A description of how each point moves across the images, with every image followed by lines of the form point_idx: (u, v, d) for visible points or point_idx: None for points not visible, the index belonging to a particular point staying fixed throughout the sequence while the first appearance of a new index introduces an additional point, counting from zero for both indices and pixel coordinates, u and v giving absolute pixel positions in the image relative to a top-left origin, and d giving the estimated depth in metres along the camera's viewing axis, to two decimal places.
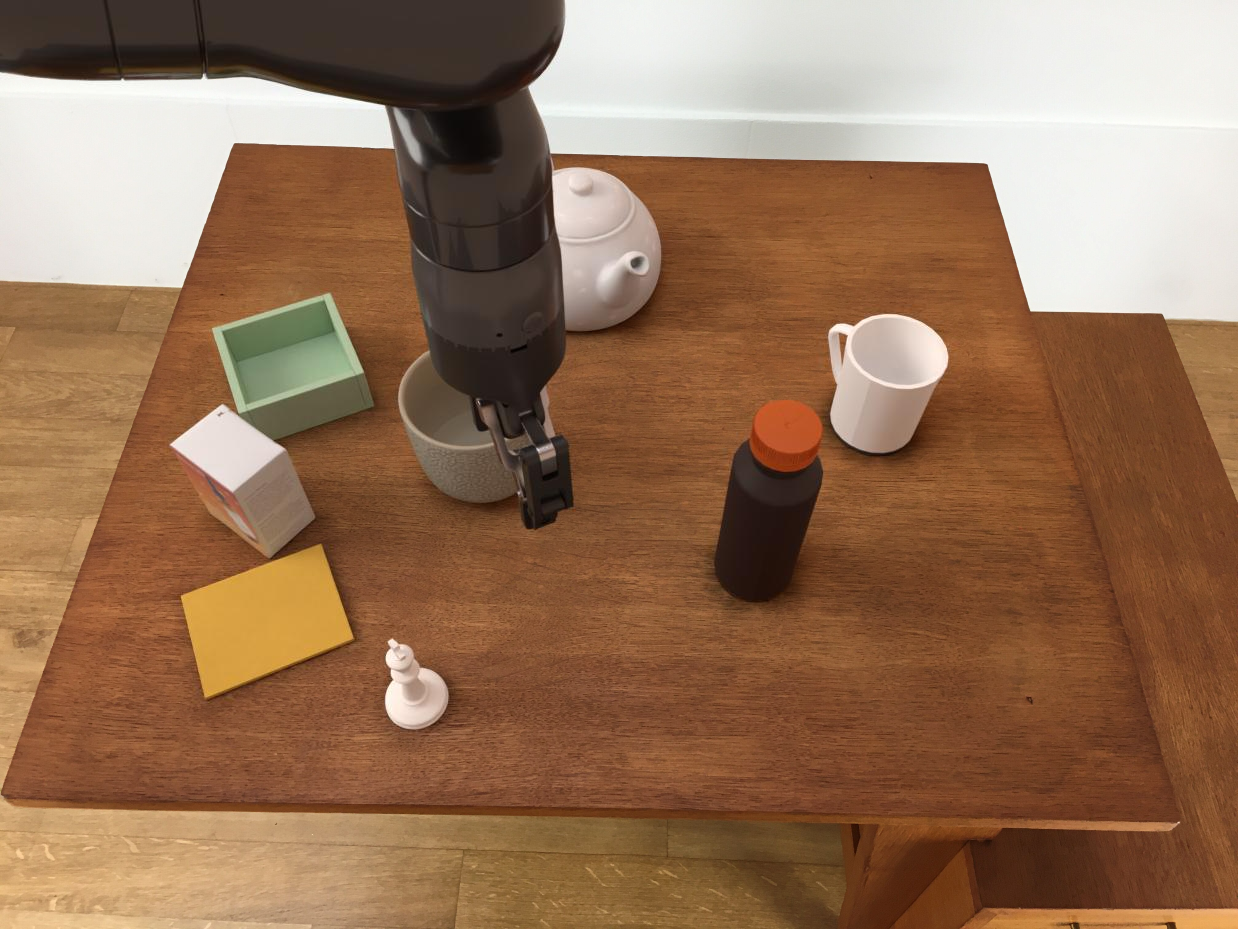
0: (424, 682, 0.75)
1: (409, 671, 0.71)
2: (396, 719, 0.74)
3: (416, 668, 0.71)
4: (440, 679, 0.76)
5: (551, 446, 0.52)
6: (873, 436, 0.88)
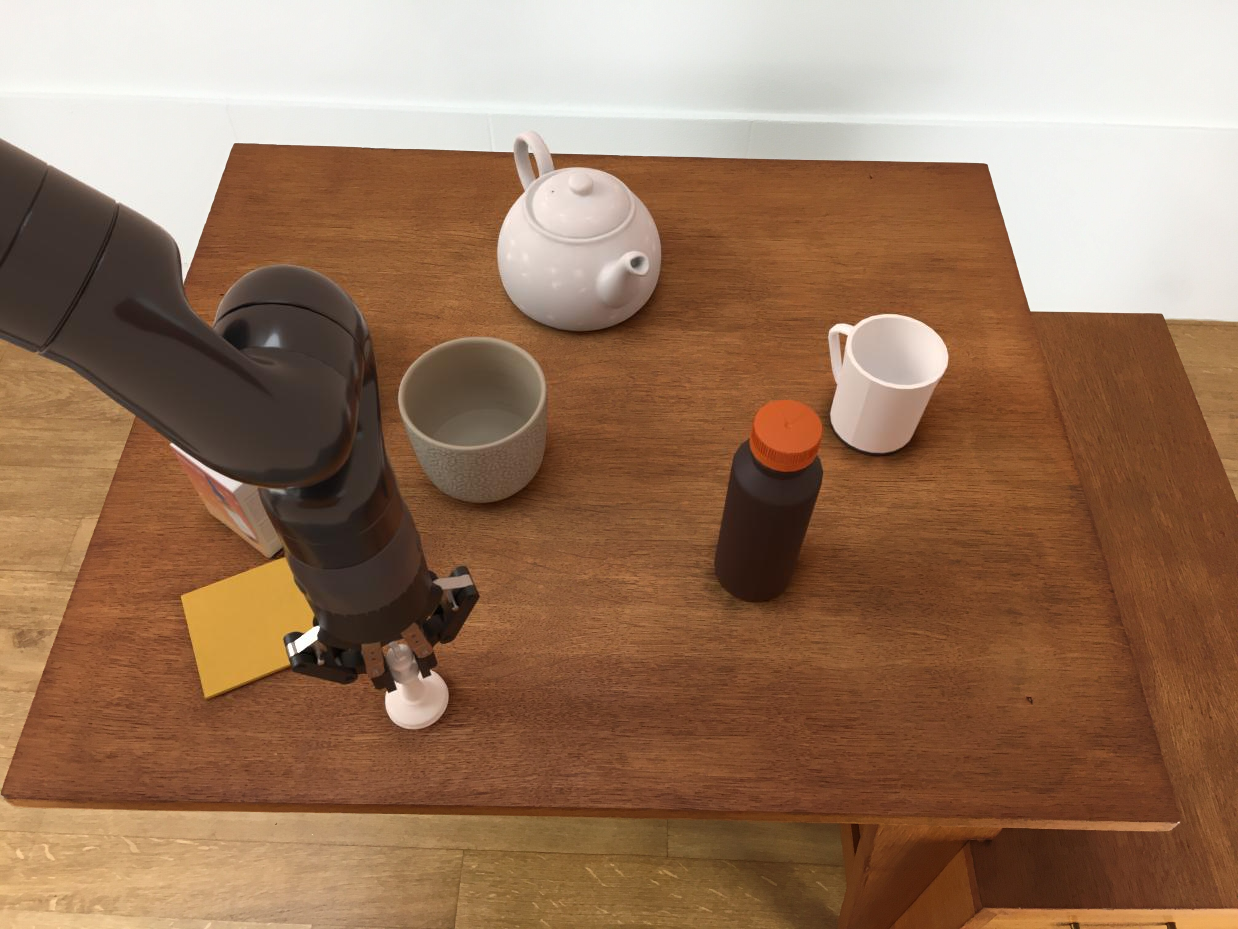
0: (424, 682, 0.75)
1: (409, 671, 0.71)
2: (396, 719, 0.74)
3: (416, 668, 0.71)
4: (440, 679, 0.76)
5: (289, 657, 0.63)
6: (873, 436, 0.88)
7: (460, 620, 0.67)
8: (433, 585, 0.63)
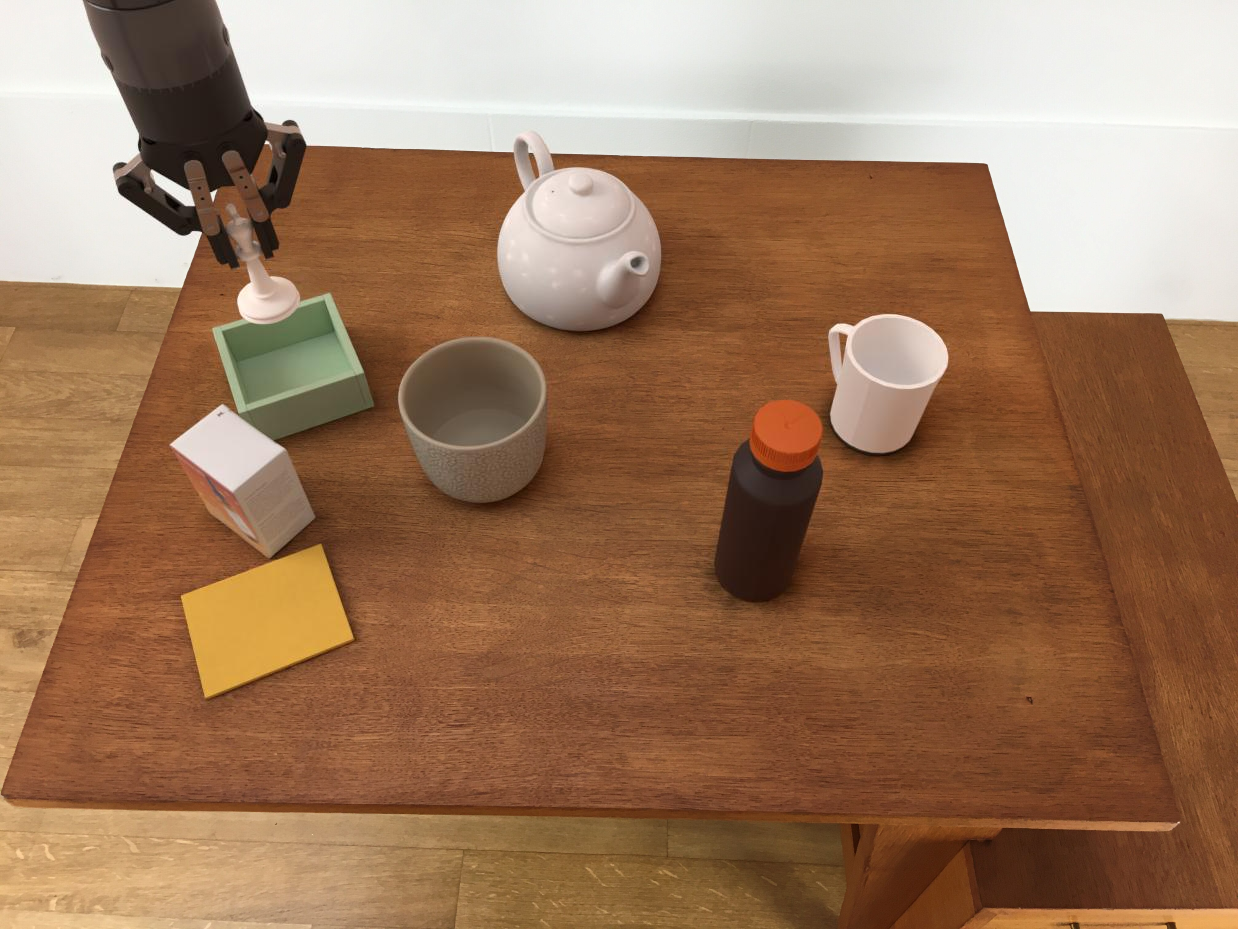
0: (274, 281, 0.78)
1: (251, 248, 0.74)
2: (246, 313, 0.77)
3: (259, 248, 0.74)
4: (292, 284, 0.79)
5: (116, 180, 0.66)
6: (873, 436, 0.88)
7: (291, 175, 0.70)
8: (254, 115, 0.66)
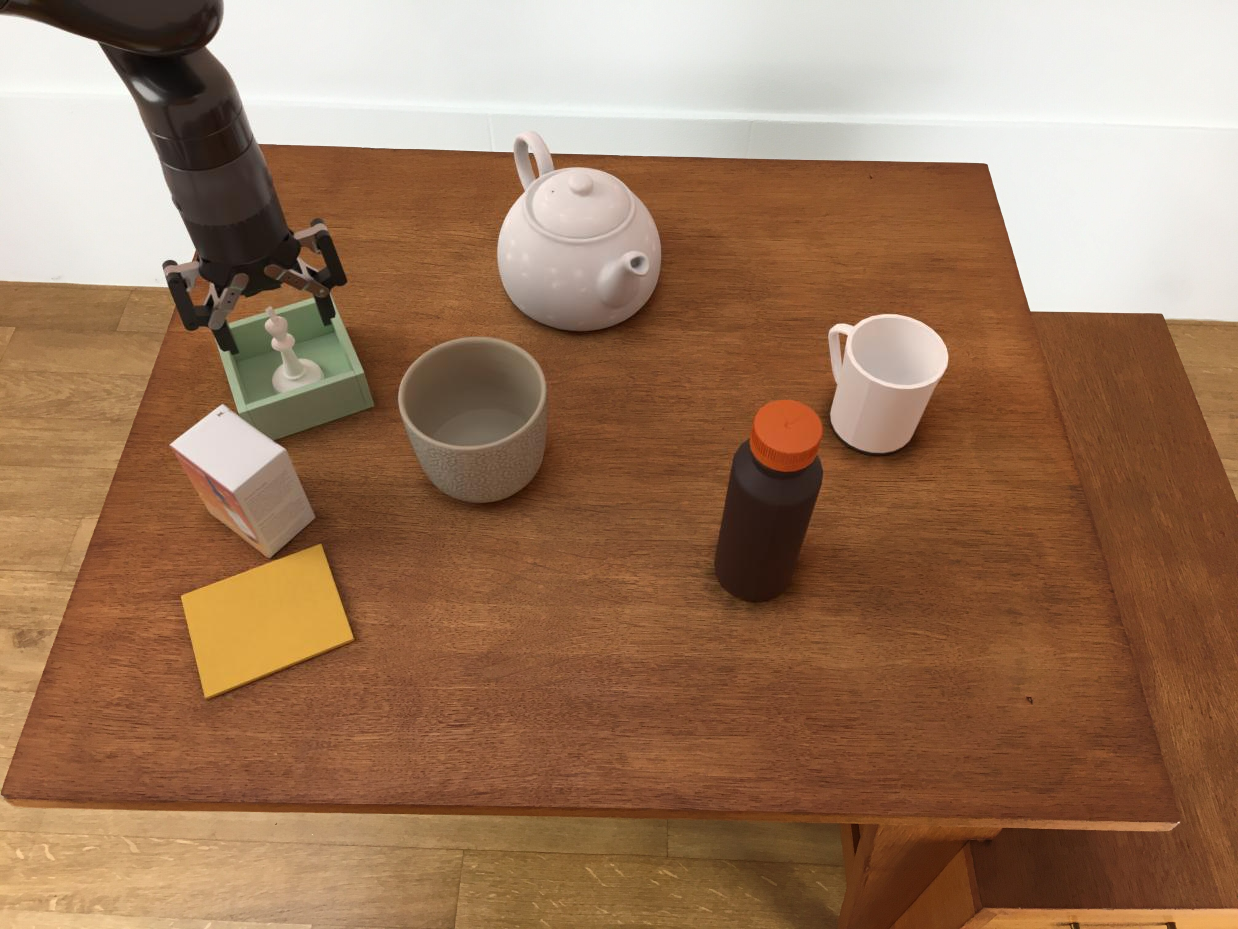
0: (303, 364, 0.94)
1: (285, 341, 0.90)
2: (279, 391, 0.93)
3: (291, 340, 0.90)
4: (317, 365, 0.95)
5: (168, 273, 0.79)
6: (873, 436, 0.88)
7: (334, 261, 0.84)
8: (290, 235, 0.81)
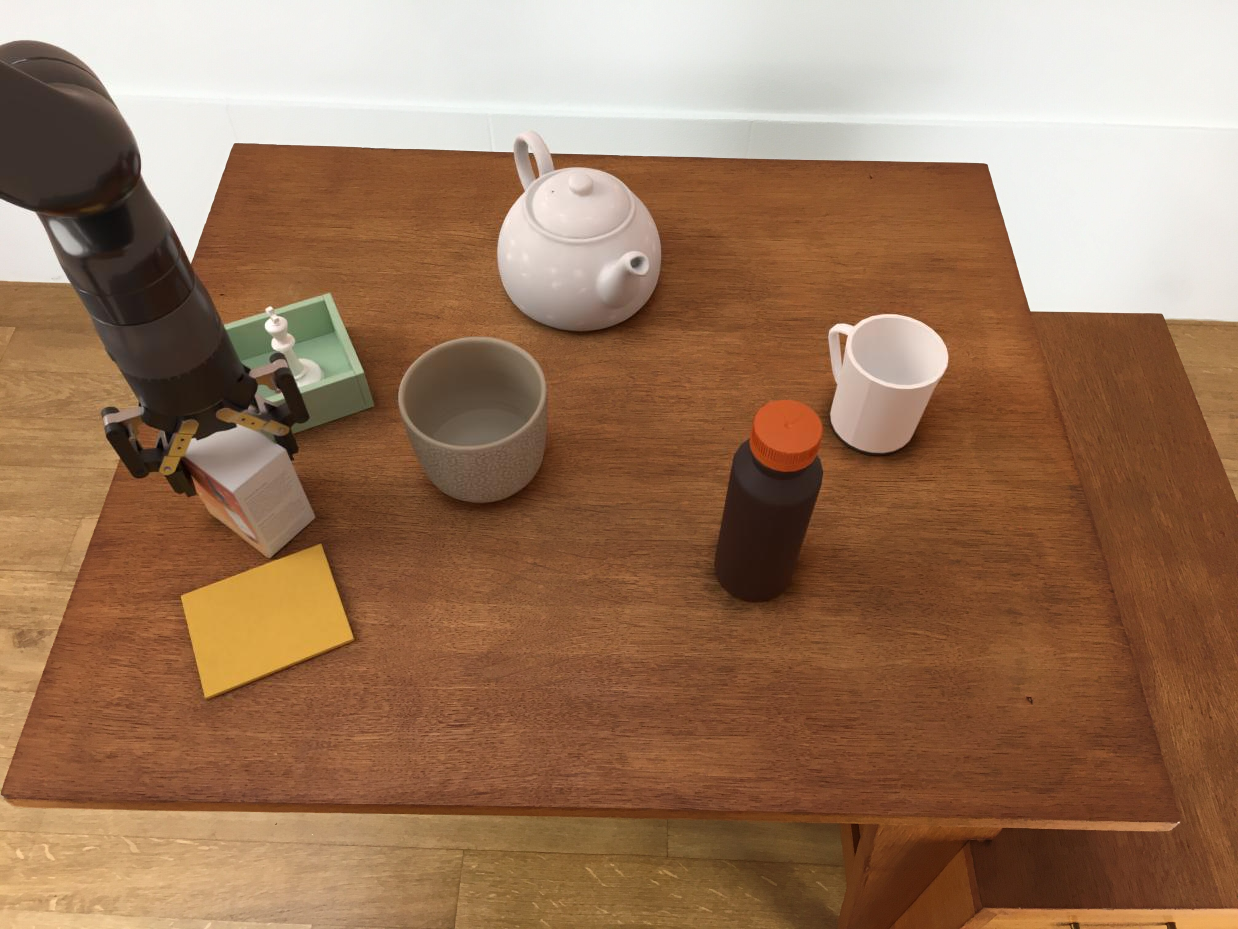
0: (303, 364, 0.94)
1: (285, 341, 0.90)
2: None
3: (291, 340, 0.90)
4: (317, 365, 0.95)
5: (106, 423, 0.70)
6: (873, 436, 0.88)
7: (295, 399, 0.75)
8: (245, 375, 0.72)
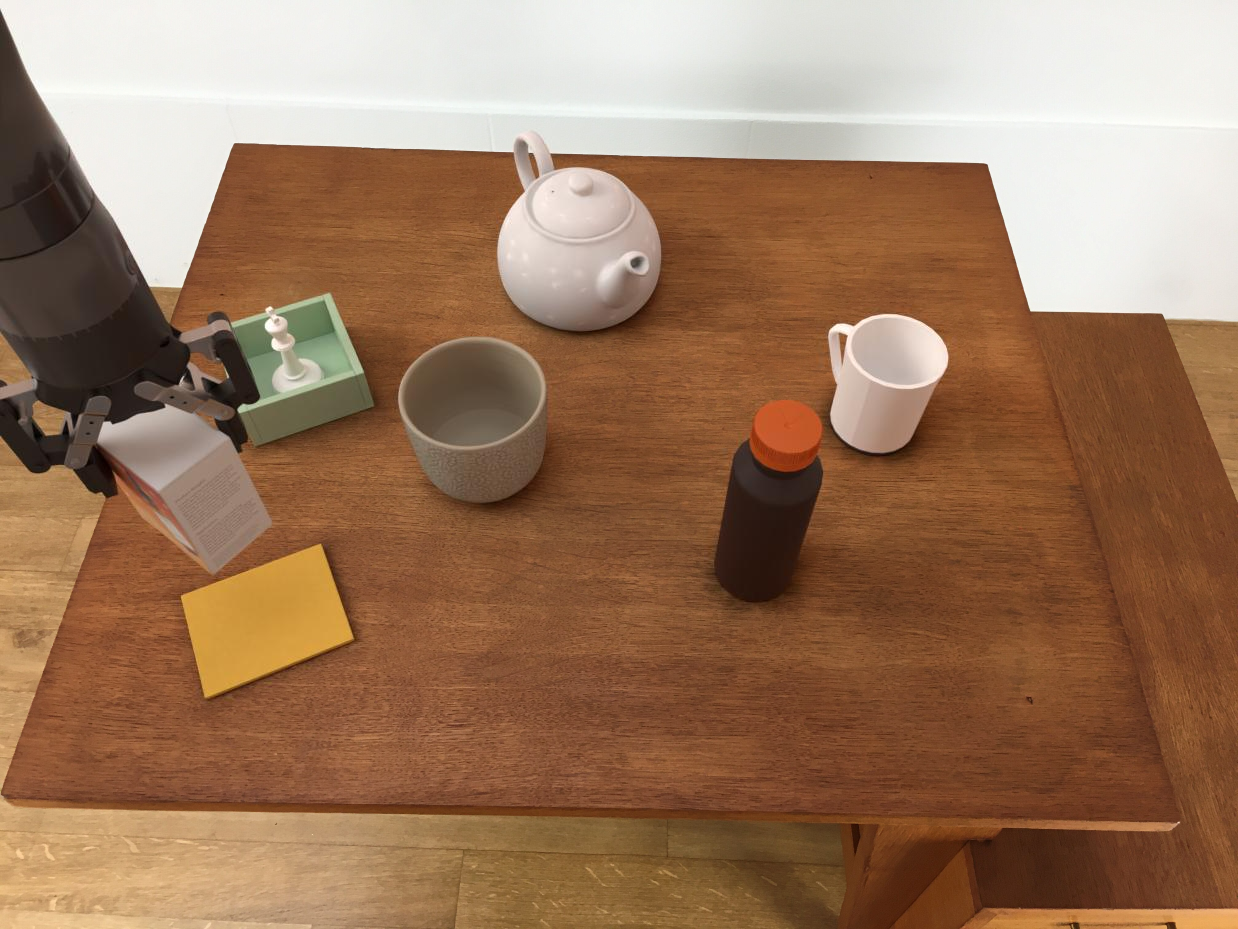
0: (303, 364, 0.94)
1: (285, 341, 0.90)
2: (279, 391, 0.93)
3: (291, 340, 0.90)
4: (317, 365, 0.95)
5: None
6: (873, 436, 0.88)
7: (240, 373, 0.59)
8: (173, 338, 0.55)
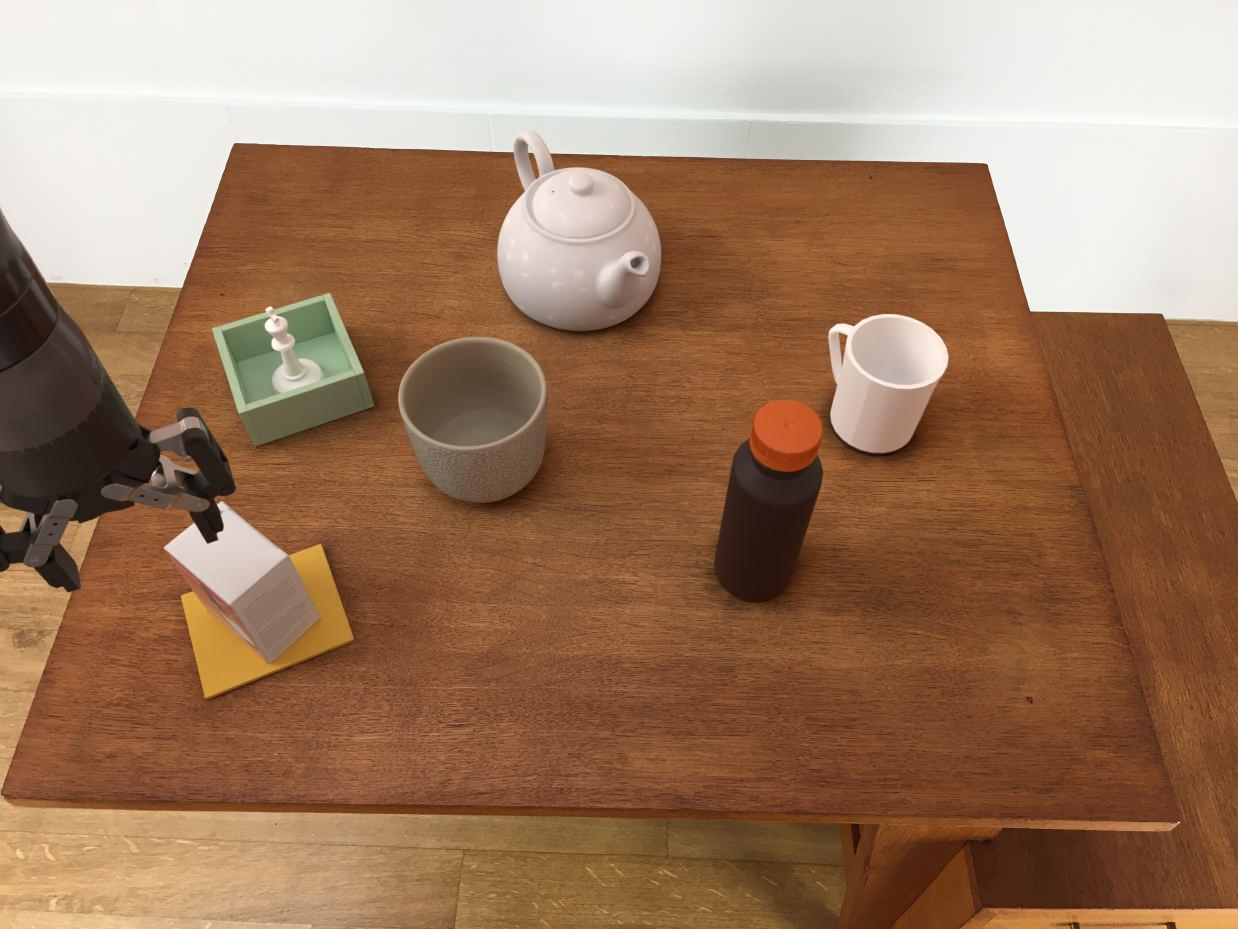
0: (303, 364, 0.94)
1: (285, 341, 0.90)
2: (279, 391, 0.93)
3: (291, 340, 0.90)
4: (317, 365, 0.95)
5: None
6: (873, 436, 0.88)
7: (213, 467, 0.58)
8: (142, 440, 0.54)
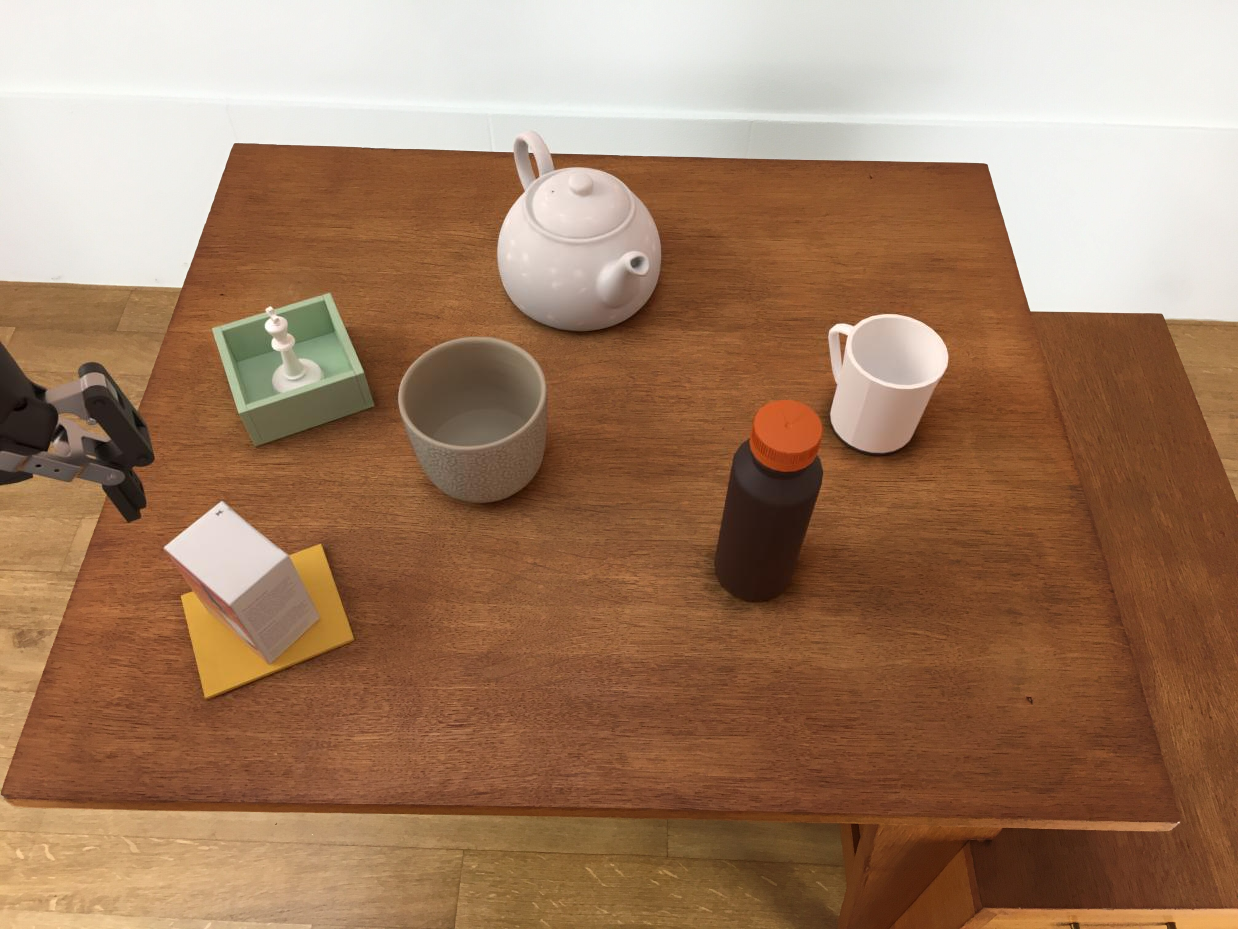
0: (303, 364, 0.94)
1: (285, 341, 0.90)
2: (279, 391, 0.93)
3: (291, 340, 0.90)
4: (317, 365, 0.95)
5: None
6: (873, 436, 0.88)
7: (124, 433, 0.49)
8: (32, 400, 0.46)
